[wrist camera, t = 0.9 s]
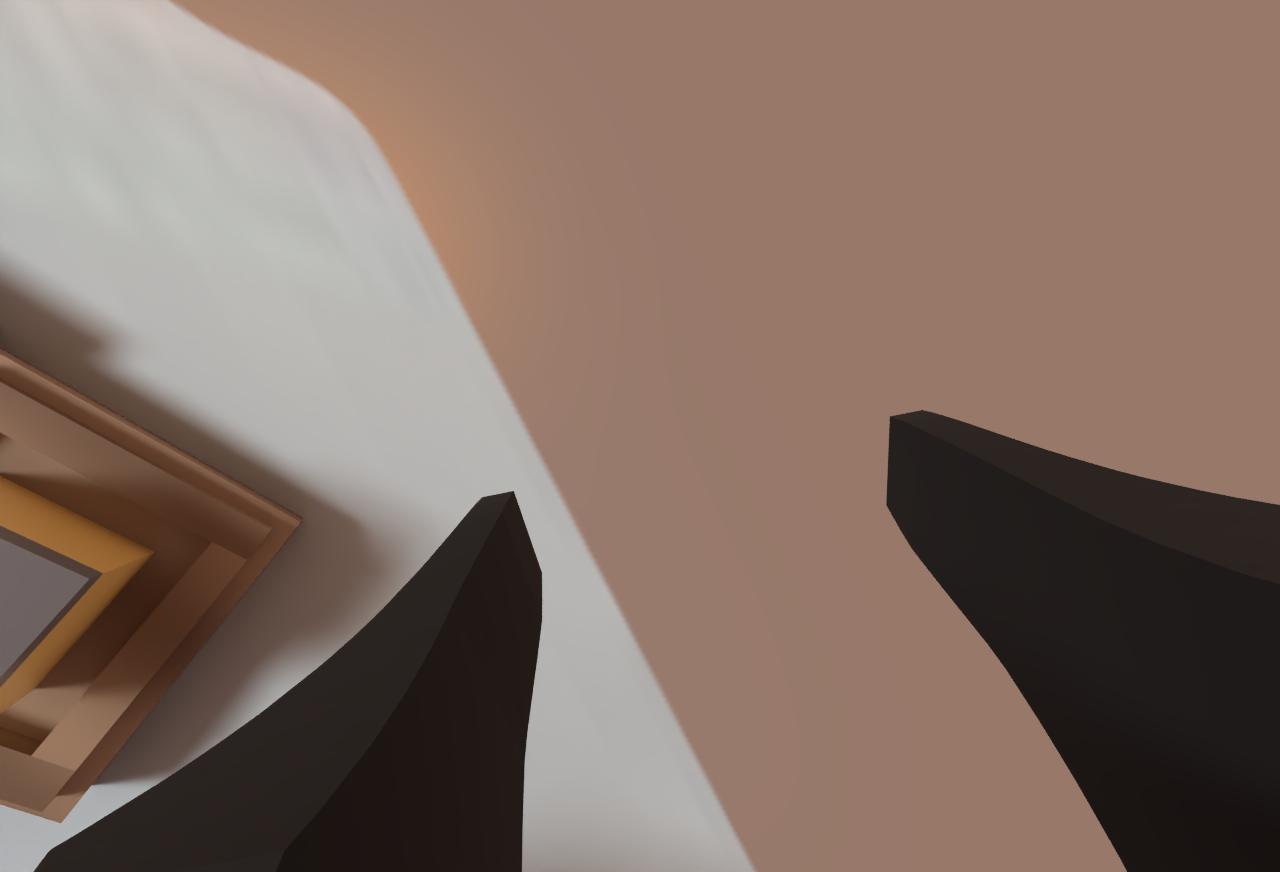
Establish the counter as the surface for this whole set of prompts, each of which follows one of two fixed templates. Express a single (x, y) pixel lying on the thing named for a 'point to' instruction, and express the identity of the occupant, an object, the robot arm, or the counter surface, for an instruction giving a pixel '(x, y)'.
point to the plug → (52, 583)
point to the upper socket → (150, 602)
